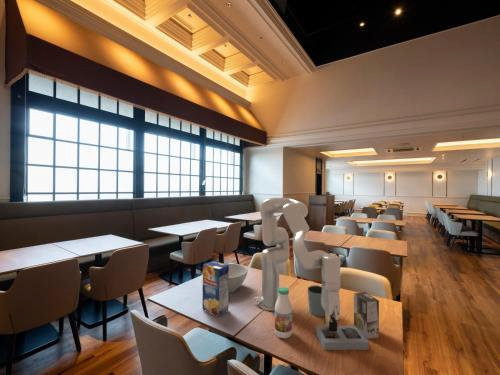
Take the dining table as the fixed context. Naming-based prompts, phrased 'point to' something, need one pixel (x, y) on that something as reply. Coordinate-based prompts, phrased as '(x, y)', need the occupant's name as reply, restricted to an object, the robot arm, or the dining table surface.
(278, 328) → the milk bottle
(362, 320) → the coffee box
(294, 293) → the dining table surface
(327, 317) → the brass cylinder
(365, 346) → the frame
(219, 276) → the juice carton
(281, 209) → the robot arm
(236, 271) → the decorative bowl
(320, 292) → the grey green cup
